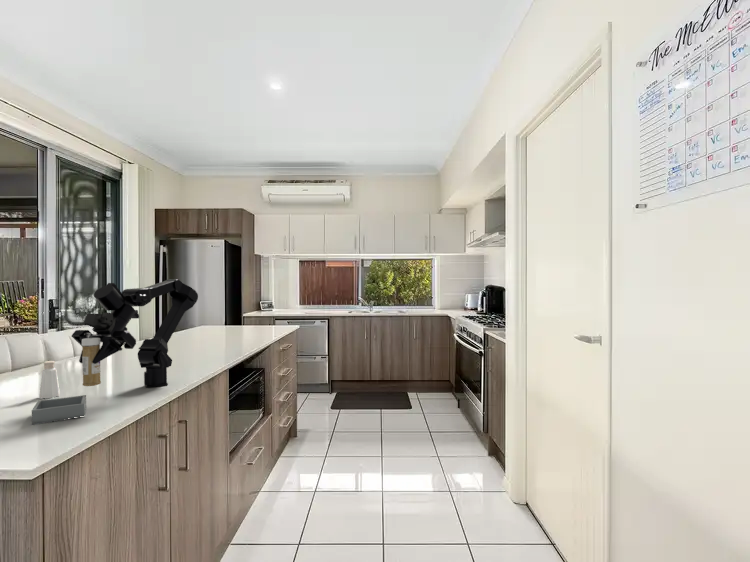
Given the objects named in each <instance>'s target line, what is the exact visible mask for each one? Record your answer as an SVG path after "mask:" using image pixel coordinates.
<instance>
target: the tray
mask: <svg viewBox="0 0 750 562" xmlns="http://www.w3.org/2000/svg"><path fill="white" fill-rule="evenodd" d="M85 410H86V411H87V394H83V395H76V396H67V397H58V398H48V399H40V400H37V402H36V403H35V405H34V406H33V408H32V409H31V426H32V425H40V424H47V423H52V421H54V422H58V421H57V420H61V421H65V420H64V419H68V418H74V417H80V416H84V415H85V416H86V412H85ZM68 420H69V419H68Z"/></svg>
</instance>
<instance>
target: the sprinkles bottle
mask: <svg viewBox="0 0 750 562" xmlns="http://www.w3.org/2000/svg"><path fill="white" fill-rule="evenodd" d="M82 348H83V356H82V363H81V364H82V386H84V387H93V386H94V387H95V386H98V385H100V384H101V383H102V381H101V361H100V362H98V363H96V364H94V363H93V362H92V361H93V359H94V357H95V356H96V354H97V353H98V351H99V349H100V348H101V342H100V338H85V339H82V346H81V349H82Z"/></svg>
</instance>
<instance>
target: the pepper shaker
mask: <svg viewBox="0 0 750 562" xmlns="http://www.w3.org/2000/svg"><path fill="white" fill-rule="evenodd" d="M55 362H56V361H55V360H47V361H46V360H45V361H44V362H43V367H44V368H43V369H42V371H41V378H40V384H39V385H40V387H39V394H38V395H39V396H38V397H39V399H41V398H47V399H53V398H52V397H54V398H57V397H56V396H58V397H59V396H60V395H61V390H60V387H59V386H60V385H59V379H58V371H57V368H55Z"/></svg>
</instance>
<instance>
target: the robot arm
mask: <svg viewBox="0 0 750 562" xmlns="http://www.w3.org/2000/svg"><path fill="white" fill-rule="evenodd" d="M166 294H168V296H169V297H170V298H171V300H170V302H171V307H170V309H169V310H168V312H167V314H166V316H165V317H164V319H163V321H162V322H161V324H160V325H159V328H158V329H157V330H156V332H155V334H154V336H153V337H152V338H145V339H143V342H142V344H141V345H140V346H139V347H138V352H137V358H138V363H139V365H140V368H143V369H144V368H145V371H144V372H143V386H145V388H154V387H162V386H168V385H169V383H168V376H167V374H168V371H167V369H168V368H169V367H171V366H172V362H173V358H171V357H170V356H169V355H168V352H169V347H168V343H169V341H170V339H171V338H172V336H173V335H174V332H175V330H176V329H177V327H178V325H179V323H180V322H181V320H182V318H183V316H184V314H185V313H186V312H187V311H189V310H190V309H192V308H193V307H194V306H195V304H197V302H198V300H199V299H198V298H199V293H198V292H197V291H196V289H194V288H192V287H191V286H189V285H187V284H186V283H183V282H182V281H181V280H180V279H178V278H177V279H176V278H174V279H173V278H172V279H165V280H164V281H161V282H158V283H154V284H151V285H149V286H146V287H136V288H135V287H134V288H125V289H123V290H122V291H121V290H120V289H119V288H118V286H117V285H116V283H115V282H108V283H107V284H105V285H103V286H101V287H100V288H98V289H96V290H95V292H94V294H93V297H94V299H95V300H97V302H98V303H99V304H100V305H101V306H102V308H104V309H105V311H109V312H103V313H92V312H91V313H86V315H85V318H84V321H83V323H82V324H83V325H84V326H88V327H90V328H92V329H91V330H92V331H93V332H94V333H96V334H93V333H92V332H91V331H90V330H89V329H75V331H73V333H72V334H71V337H72V339H74V340H75V341H76V342H77V344H79V345H80V346H81V349H82V350H81V353H80V356H79V360H78V362H79V363H80V364H82V356H83V348H82V339H85V338H100V343H102V345H100V349H99V351H98V353H97V354H96V356H95V357H94V359H93V361H92V362H93V363H94V364H96V363H98V362H100V363H101V361H103V360H105V359H106V358H108V357H110V356H112V355H113V354H116V353H118V352H119V351H120V352H121V351H123V348H124V349H126V350H128V349H129V350H132V349H134V348H135V346H136V345H137V338H135V337H134V336H133V334H131V333H130V331H129V330H128V327H127V325H128V324H129V322H130V321H131V319H140V315H139V311H138V309H135V308H134V307H144V306H146V305H148V304H149V303H151V302H152V300H153V299H154V298H158V297H160V296H163V295H166ZM110 311H111V312H110ZM122 347H123V348H122Z"/></svg>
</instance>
